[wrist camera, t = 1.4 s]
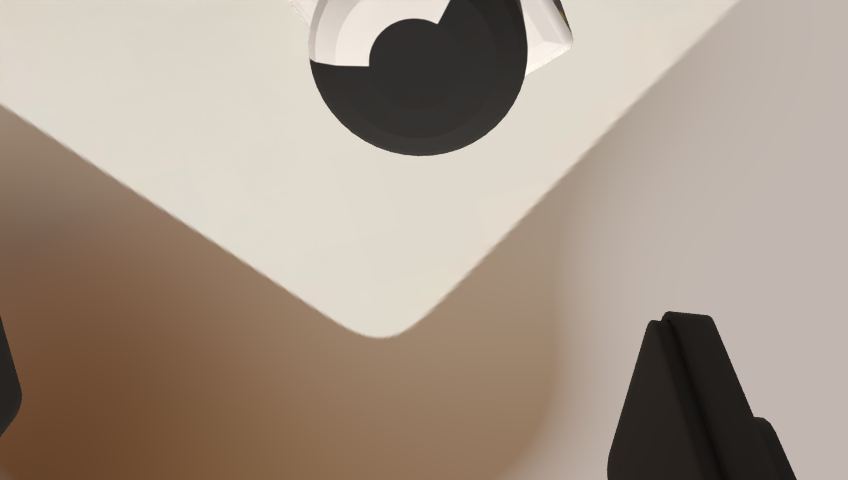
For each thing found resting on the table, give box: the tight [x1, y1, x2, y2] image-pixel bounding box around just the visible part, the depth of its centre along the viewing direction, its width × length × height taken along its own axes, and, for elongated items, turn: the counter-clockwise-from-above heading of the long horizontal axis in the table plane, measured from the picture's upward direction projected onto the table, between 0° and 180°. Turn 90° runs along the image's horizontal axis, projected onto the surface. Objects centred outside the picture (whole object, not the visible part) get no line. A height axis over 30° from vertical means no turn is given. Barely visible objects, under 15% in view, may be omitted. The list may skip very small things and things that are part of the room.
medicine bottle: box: [288, 0, 573, 156], centre depth 25 cm, size 7×7×12 cm
